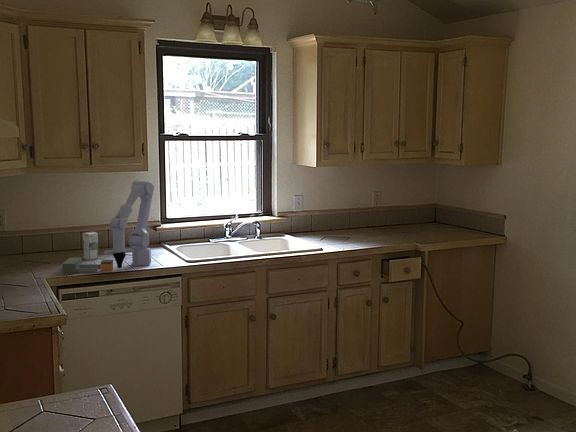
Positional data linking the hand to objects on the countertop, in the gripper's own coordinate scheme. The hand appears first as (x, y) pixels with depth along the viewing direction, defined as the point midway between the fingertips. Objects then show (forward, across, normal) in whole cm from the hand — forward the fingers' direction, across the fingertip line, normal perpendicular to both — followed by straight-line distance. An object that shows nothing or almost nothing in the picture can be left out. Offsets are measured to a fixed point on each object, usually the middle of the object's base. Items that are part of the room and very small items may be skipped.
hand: (119, 267), depth 307 cm
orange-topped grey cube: (+2, +5, -3) cm, 6 cm away
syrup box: (+2, +5, -33) cm, 34 cm away
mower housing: (+1, +16, -9) cm, 18 cm away
